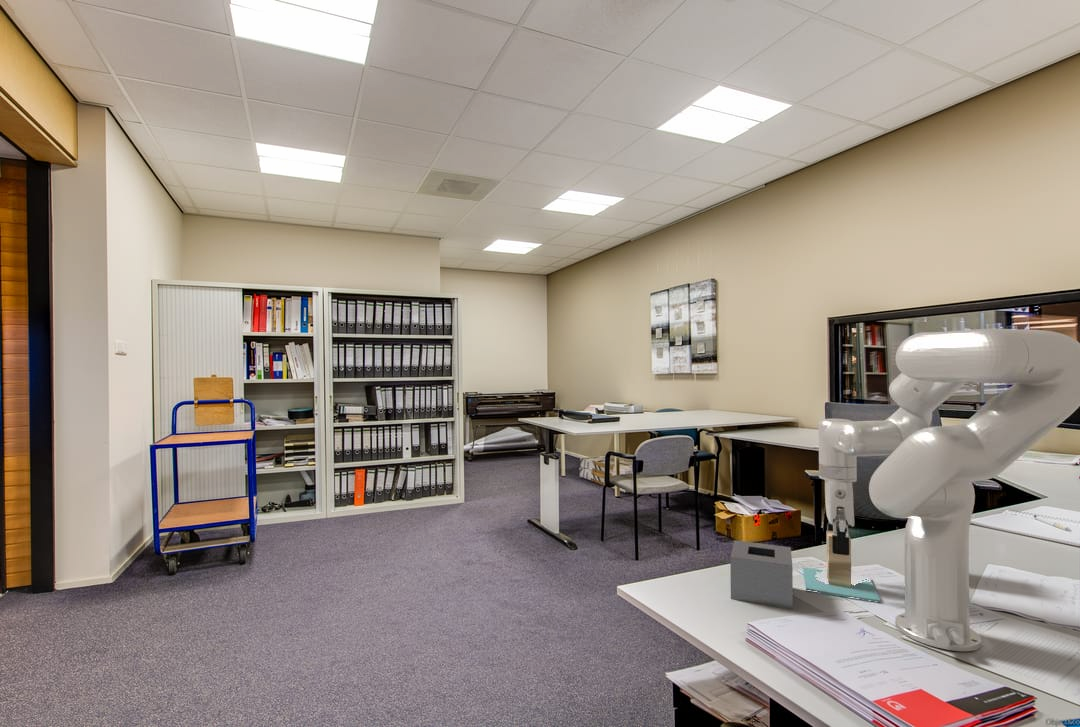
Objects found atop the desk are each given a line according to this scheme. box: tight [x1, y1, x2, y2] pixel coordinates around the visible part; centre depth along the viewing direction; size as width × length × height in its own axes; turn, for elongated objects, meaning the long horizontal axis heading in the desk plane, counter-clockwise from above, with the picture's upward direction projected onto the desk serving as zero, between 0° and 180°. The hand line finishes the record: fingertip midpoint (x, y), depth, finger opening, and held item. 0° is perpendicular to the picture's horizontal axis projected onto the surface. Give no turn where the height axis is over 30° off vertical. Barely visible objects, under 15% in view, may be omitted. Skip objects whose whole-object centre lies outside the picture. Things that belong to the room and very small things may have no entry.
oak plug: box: [825, 529, 852, 588], centre depth 117 cm, size 4×4×11 cm
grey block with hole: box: [729, 539, 794, 610], centre depth 113 cm, size 12×12×9 cm
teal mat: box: [802, 566, 882, 603], centre depth 117 cm, size 14×14×1 cm
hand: (838, 547), depth 117 cm, fingers open, 9 cm apart
